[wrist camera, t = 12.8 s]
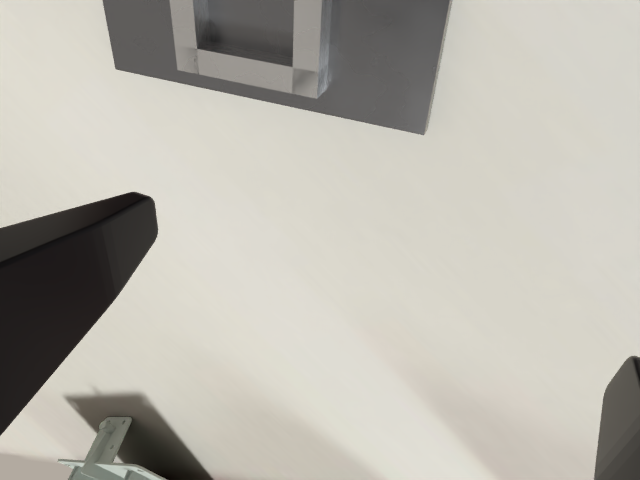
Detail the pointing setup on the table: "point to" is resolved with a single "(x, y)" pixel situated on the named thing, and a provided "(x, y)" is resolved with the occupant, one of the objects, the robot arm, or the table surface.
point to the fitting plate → (292, 52)
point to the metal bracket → (108, 456)
